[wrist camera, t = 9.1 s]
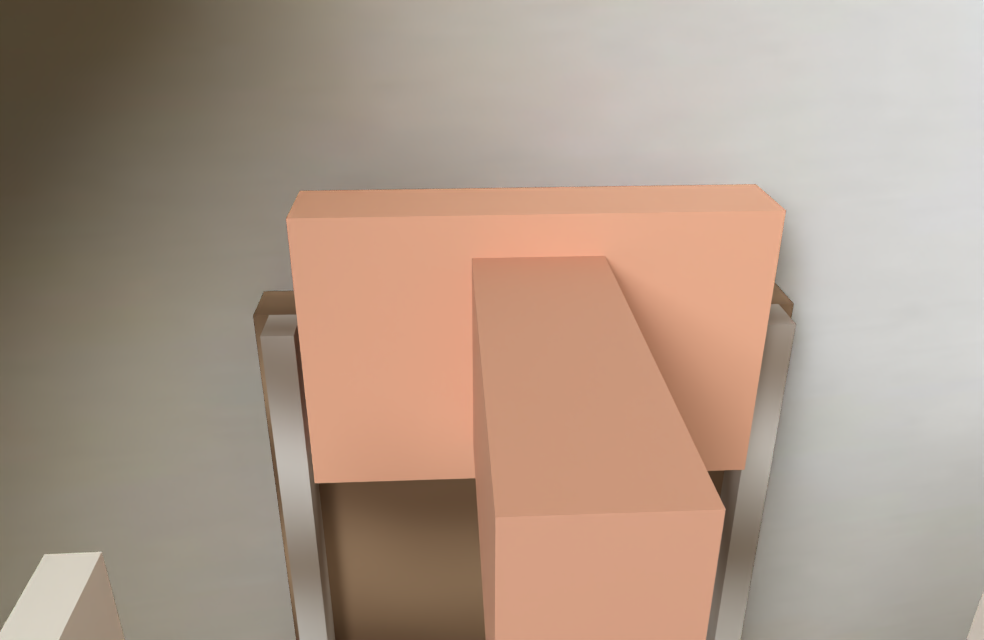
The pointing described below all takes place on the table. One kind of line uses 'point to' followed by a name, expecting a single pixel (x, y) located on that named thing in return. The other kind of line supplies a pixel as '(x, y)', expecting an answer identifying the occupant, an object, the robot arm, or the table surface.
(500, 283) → the stub
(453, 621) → the board
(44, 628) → the robot arm
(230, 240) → the table surface
